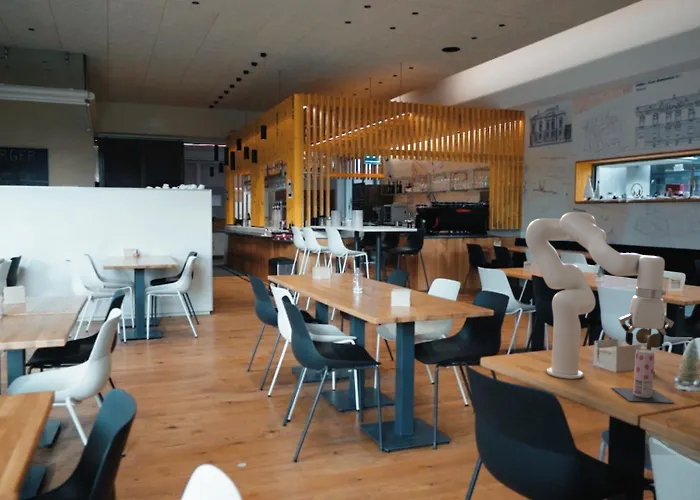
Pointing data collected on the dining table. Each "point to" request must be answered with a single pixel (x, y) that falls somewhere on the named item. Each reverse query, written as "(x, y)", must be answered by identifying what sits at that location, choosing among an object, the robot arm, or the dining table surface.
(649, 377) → the beverage can
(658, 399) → the mat
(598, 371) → the dining table surface
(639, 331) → the kendama
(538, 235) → the robot arm
